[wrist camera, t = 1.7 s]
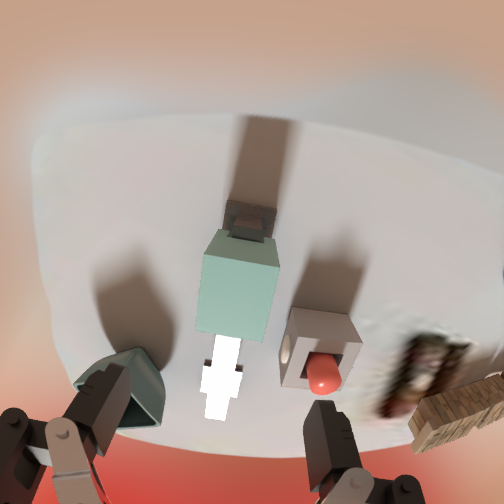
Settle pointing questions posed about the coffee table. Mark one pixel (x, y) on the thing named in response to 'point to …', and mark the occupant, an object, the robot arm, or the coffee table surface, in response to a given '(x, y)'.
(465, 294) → the coffee table surface
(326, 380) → the button
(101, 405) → the robot arm
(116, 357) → the flower pot
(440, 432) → the block tower
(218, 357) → the handrail
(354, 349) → the cabinet
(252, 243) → the carriage
